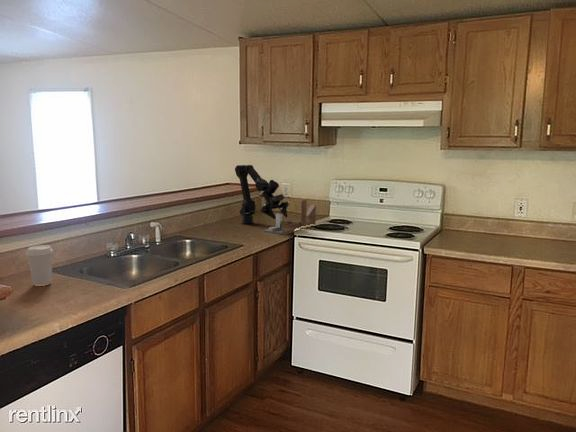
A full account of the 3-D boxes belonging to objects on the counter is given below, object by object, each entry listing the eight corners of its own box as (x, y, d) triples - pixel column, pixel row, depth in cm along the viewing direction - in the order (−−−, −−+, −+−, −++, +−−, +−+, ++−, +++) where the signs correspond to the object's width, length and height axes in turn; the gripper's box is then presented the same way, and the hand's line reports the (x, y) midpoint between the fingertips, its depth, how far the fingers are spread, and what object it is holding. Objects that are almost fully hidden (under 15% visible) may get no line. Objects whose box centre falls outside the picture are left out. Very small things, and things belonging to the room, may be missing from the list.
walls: (263, 230, 295) (263, 223, 295) (280, 225, 310) (280, 219, 309) (284, 233, 286) (284, 226, 286) (301, 228, 301) (301, 222, 300)
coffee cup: (23, 286, 188) (19, 249, 186) (43, 279, 197) (40, 244, 194) (41, 289, 185) (38, 251, 182) (61, 282, 193) (58, 245, 191)
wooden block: (315, 226, 311) (315, 199, 308) (303, 228, 304) (303, 200, 301) (311, 225, 314) (311, 198, 311) (299, 227, 307) (299, 199, 304)
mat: (263, 231, 295) (263, 230, 295) (280, 226, 310) (280, 225, 310) (284, 234, 286) (284, 233, 286) (301, 229, 301) (301, 228, 301)
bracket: (268, 230, 294) (268, 214, 292) (278, 228, 299) (277, 213, 297) (272, 231, 291) (272, 215, 289) (282, 229, 296) (282, 213, 294)
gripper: (263, 191, 289) (275, 211, 282) (287, 188, 301) (298, 208, 295) (255, 202, 296) (267, 222, 290) (278, 200, 308) (290, 219, 302)
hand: (281, 218), depth 294 cm, fingers open, 9 cm apart
